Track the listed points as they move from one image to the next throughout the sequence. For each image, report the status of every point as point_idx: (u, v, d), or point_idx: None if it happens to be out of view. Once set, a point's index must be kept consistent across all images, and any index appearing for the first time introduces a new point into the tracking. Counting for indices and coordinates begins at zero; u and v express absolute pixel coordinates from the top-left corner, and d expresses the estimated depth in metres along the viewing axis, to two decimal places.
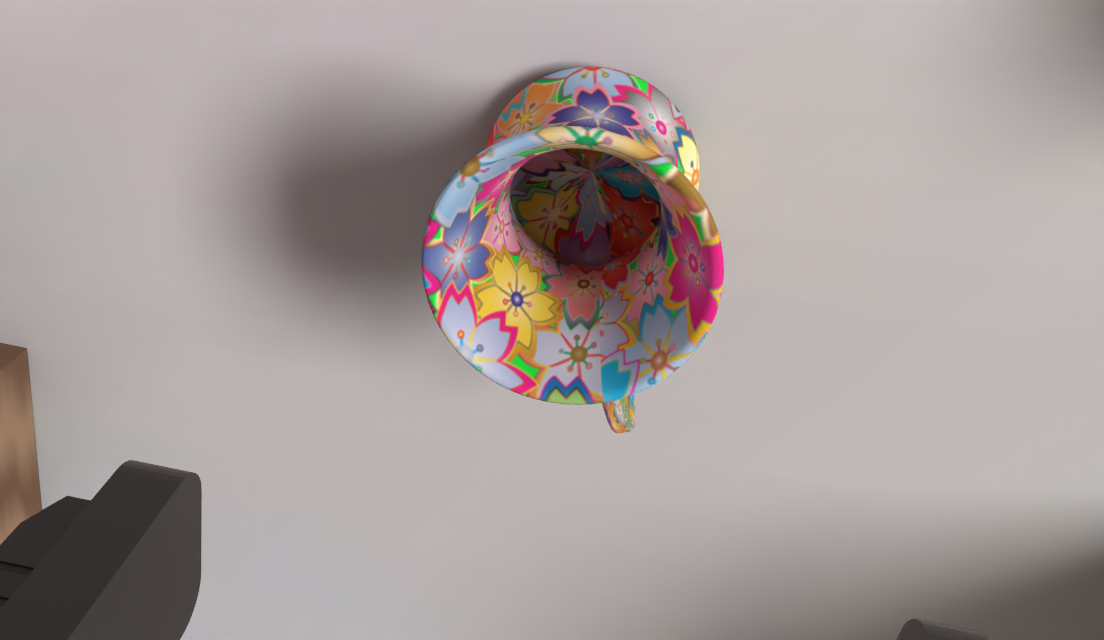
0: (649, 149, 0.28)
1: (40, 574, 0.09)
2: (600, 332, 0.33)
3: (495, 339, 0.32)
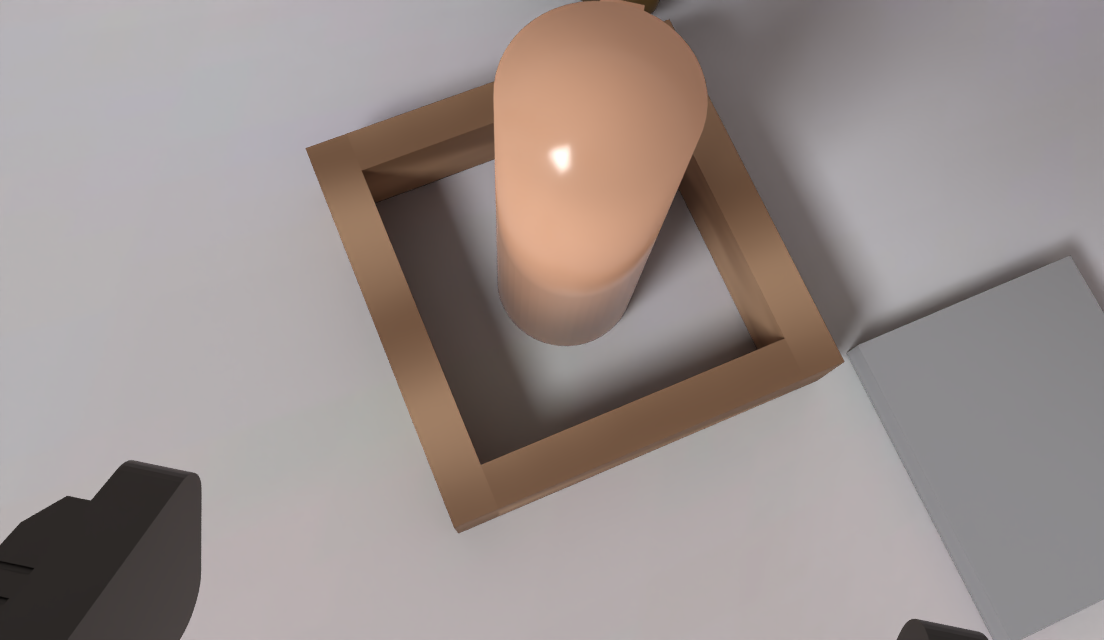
0: None
1: (40, 574, 0.09)
2: None
3: None
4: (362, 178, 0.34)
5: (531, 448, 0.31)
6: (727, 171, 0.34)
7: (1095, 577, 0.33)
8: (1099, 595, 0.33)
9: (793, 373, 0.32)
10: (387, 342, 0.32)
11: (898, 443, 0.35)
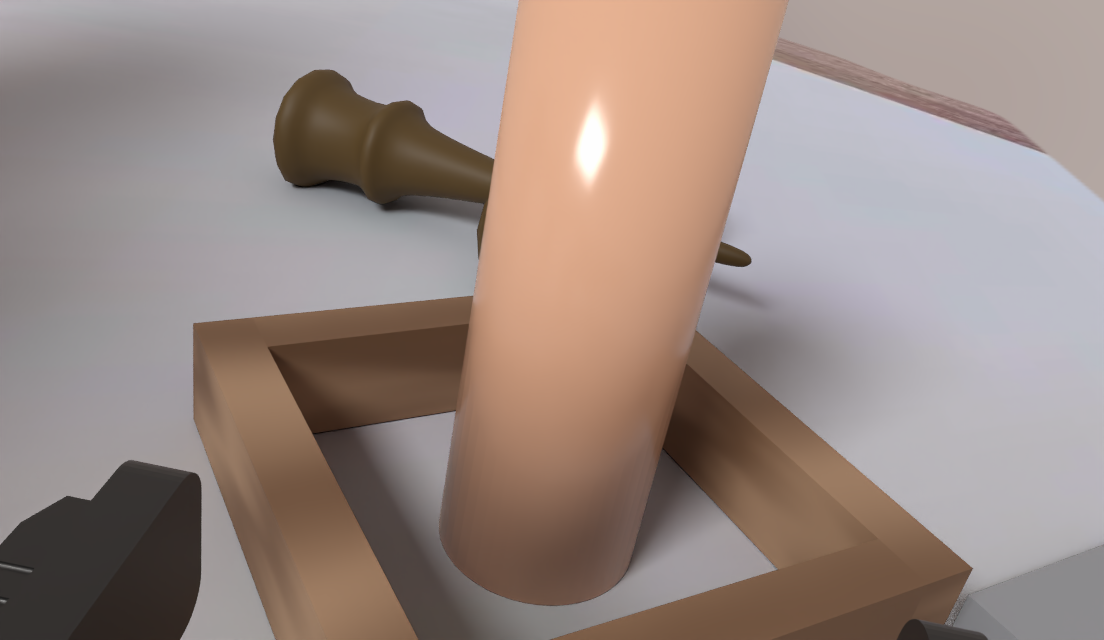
0: None
1: (41, 574, 0.09)
2: None
3: None
4: (267, 352, 0.25)
5: None
6: (739, 386, 0.27)
7: None
8: None
9: (909, 577, 0.21)
10: (281, 508, 0.20)
11: None
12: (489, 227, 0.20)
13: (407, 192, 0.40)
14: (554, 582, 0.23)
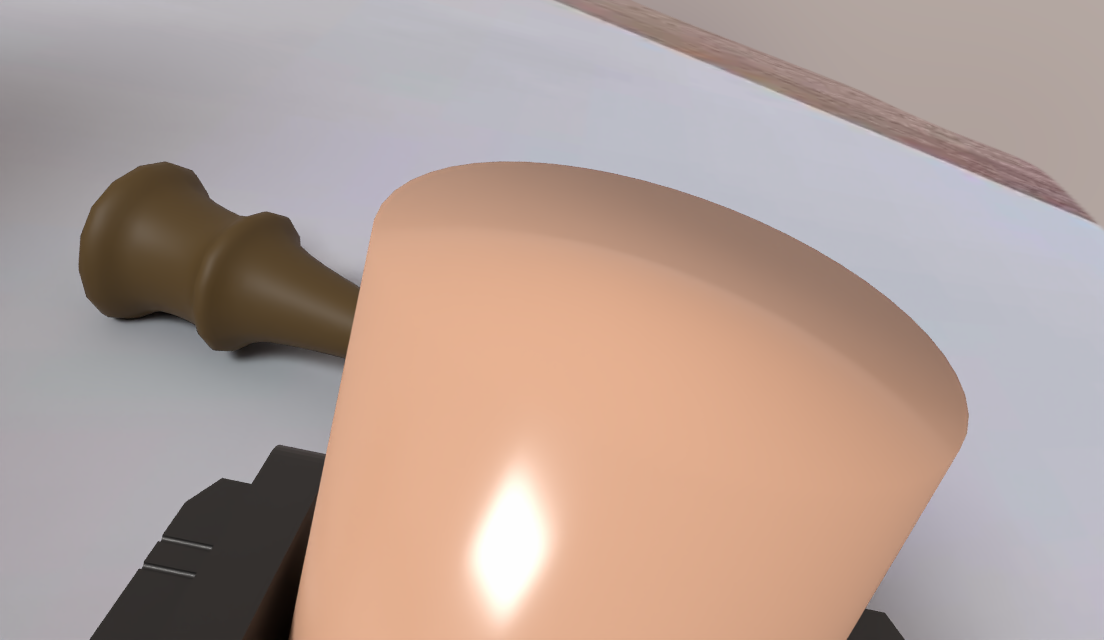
0: None
1: (222, 548, 0.09)
2: None
3: None
4: None
5: None
6: None
7: None
8: None
9: None
10: None
11: None
12: None
13: (263, 341, 0.29)
14: None
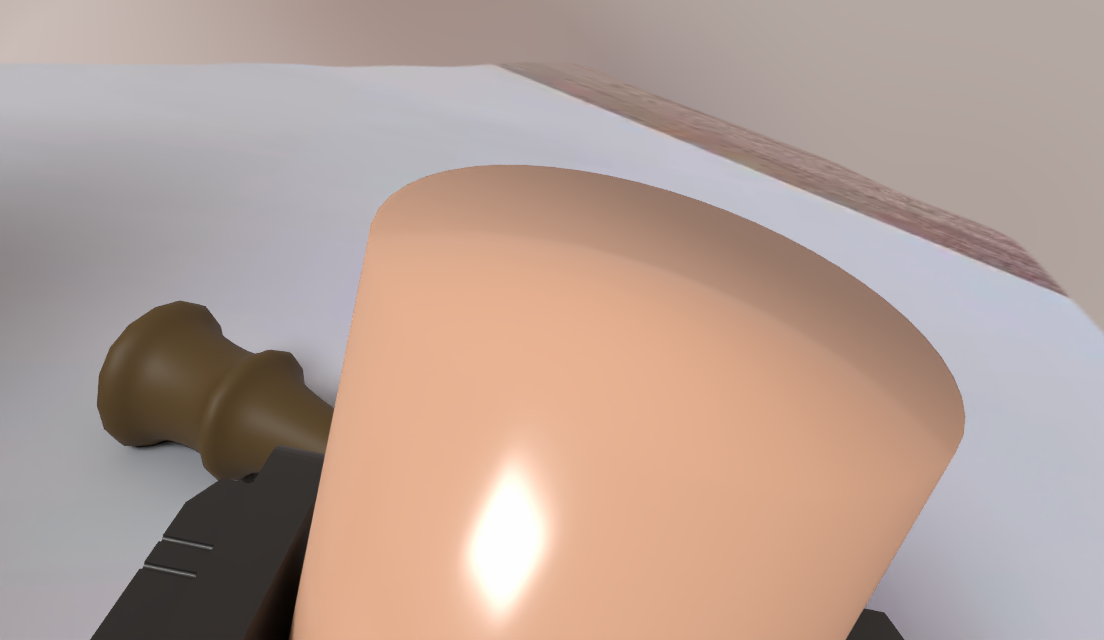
0: None
1: (222, 548, 0.09)
2: None
3: None
4: None
5: None
6: None
7: None
8: None
9: None
10: None
11: None
12: None
13: None
14: None
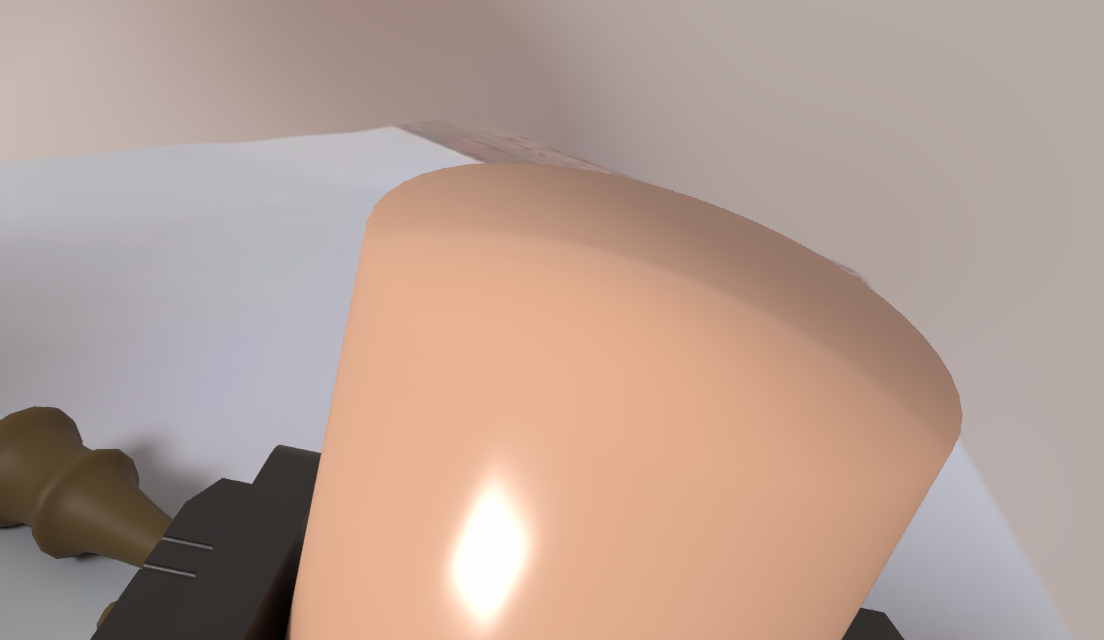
0: None
1: (222, 548, 0.09)
2: None
3: None
4: None
5: None
6: None
7: None
8: None
9: None
10: None
11: None
12: None
13: (91, 552, 0.37)
14: None
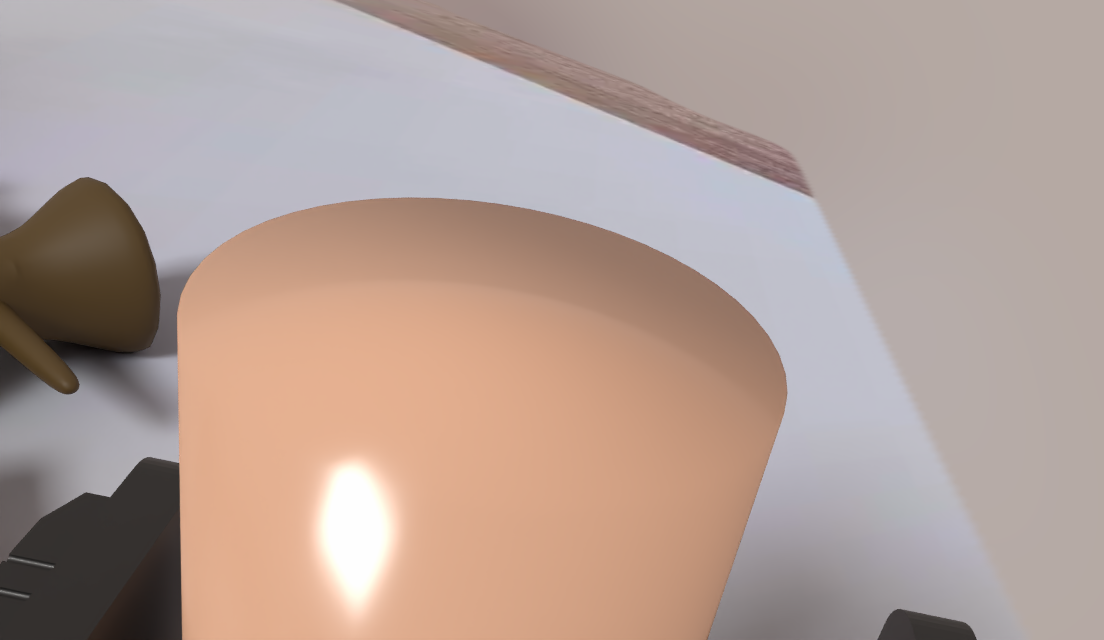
0: None
1: (62, 570, 0.09)
2: None
3: None
4: None
5: None
6: None
7: None
8: None
9: None
10: None
11: None
12: None
13: None
14: None
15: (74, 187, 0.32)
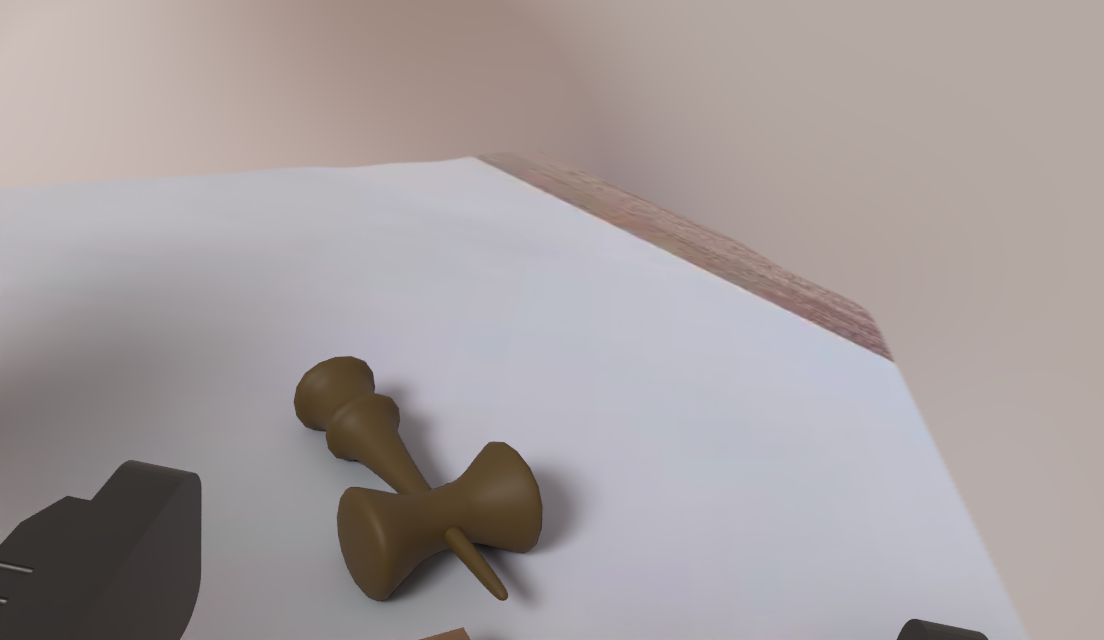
0: None
1: (40, 575, 0.09)
2: None
3: None
4: None
5: None
6: None
7: None
8: None
9: None
10: None
11: None
12: None
13: (356, 459, 0.55)
14: None
15: (497, 450, 0.52)
